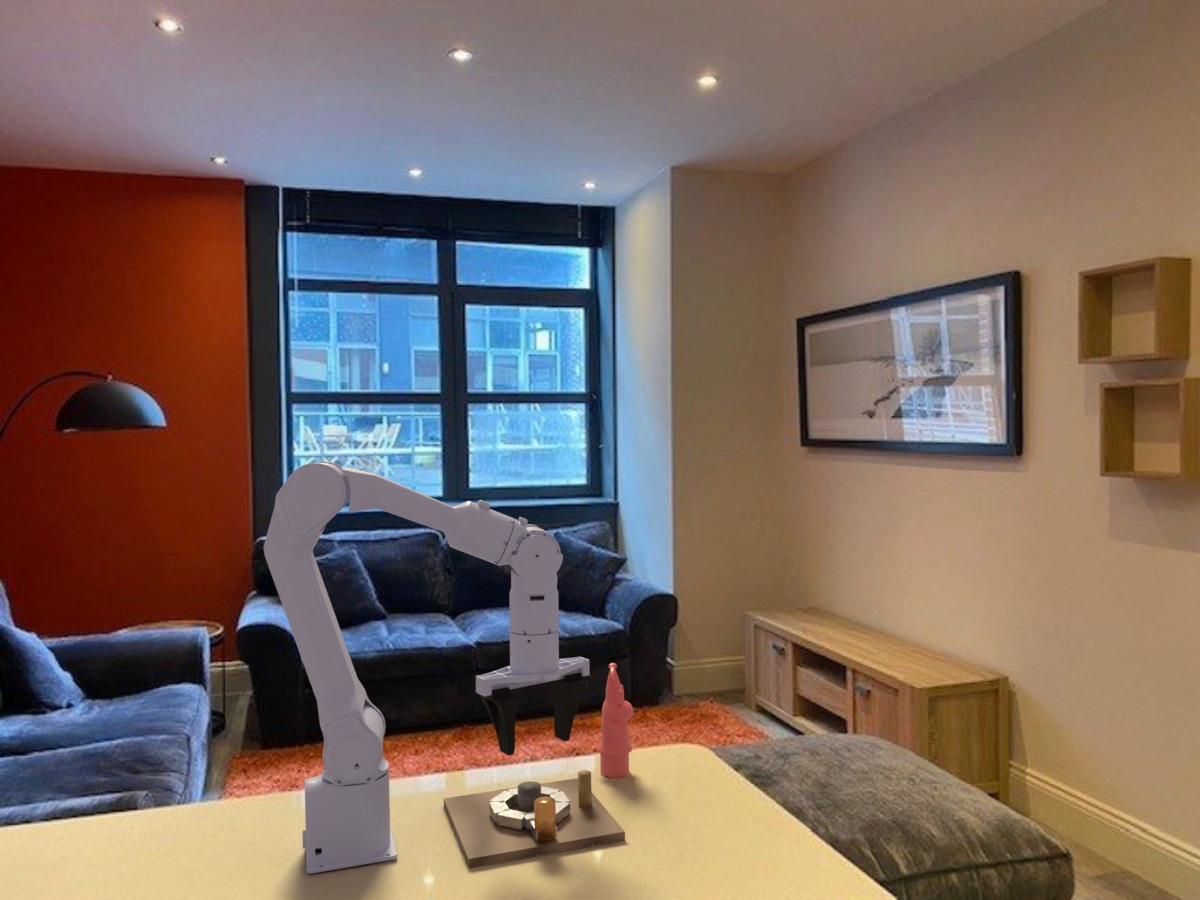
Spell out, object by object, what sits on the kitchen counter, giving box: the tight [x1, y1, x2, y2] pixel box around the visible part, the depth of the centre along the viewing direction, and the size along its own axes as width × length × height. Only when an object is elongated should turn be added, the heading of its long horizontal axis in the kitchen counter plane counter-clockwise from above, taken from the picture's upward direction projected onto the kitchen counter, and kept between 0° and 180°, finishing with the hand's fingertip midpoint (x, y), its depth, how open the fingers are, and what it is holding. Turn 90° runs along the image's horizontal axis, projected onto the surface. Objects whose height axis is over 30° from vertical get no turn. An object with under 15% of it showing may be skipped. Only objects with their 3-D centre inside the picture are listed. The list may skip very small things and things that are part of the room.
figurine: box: [596, 662, 634, 778], centre depth 120 cm, size 5×5×15 cm
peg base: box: [443, 769, 626, 869], centre depth 105 cm, size 18×17×5 cm
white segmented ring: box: [489, 786, 570, 841], centre depth 103 cm, size 13×9×4 cm
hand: (535, 745), depth 102 cm, fingers open, 7 cm apart
